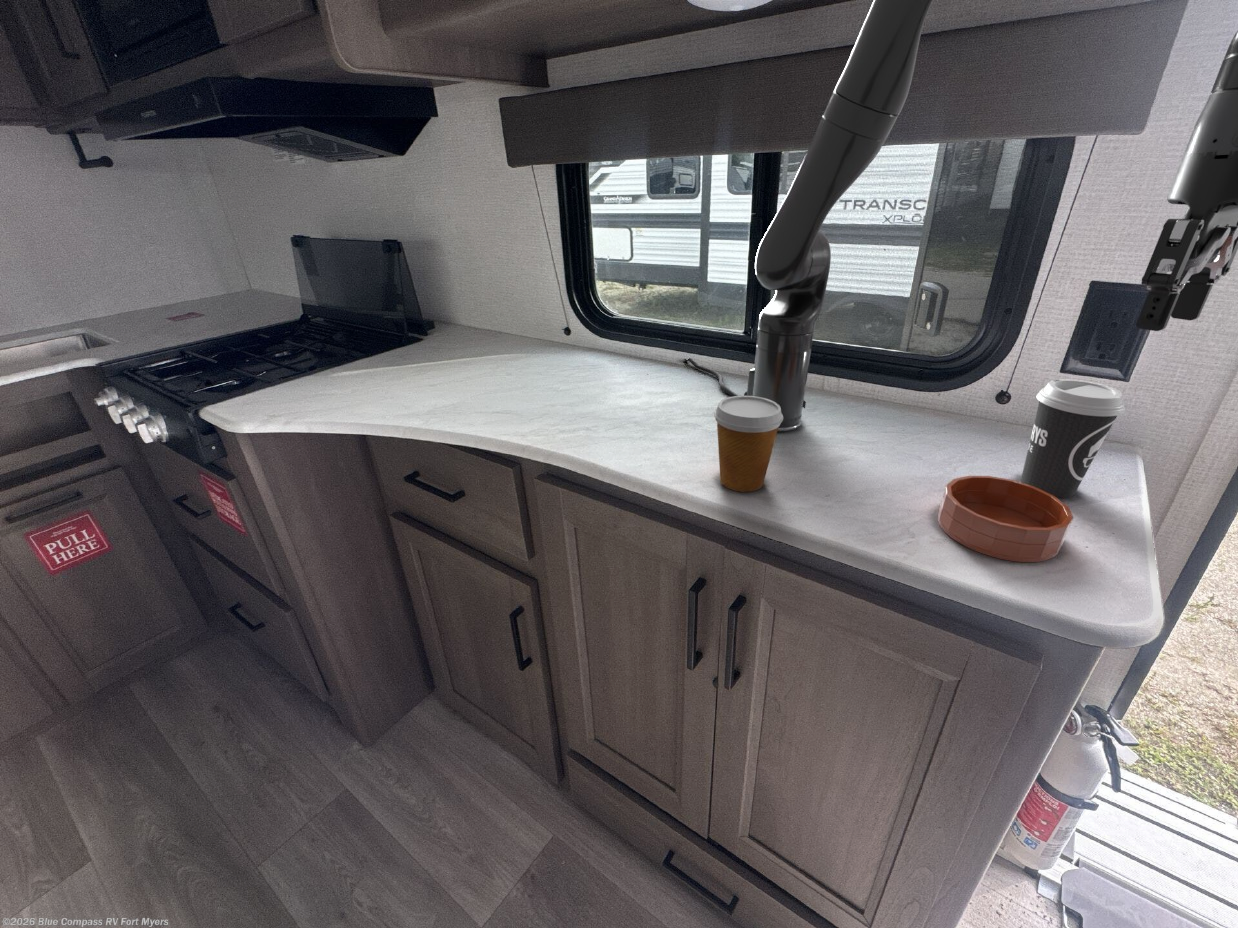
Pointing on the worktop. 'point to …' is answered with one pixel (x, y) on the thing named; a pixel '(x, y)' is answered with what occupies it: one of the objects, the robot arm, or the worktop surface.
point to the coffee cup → (1068, 433)
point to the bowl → (1004, 518)
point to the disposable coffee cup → (746, 440)
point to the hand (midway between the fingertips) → (1166, 324)
